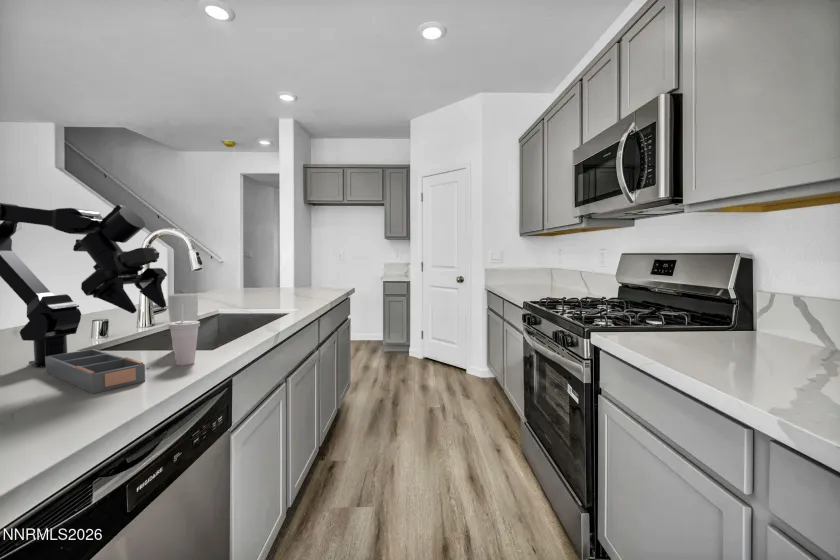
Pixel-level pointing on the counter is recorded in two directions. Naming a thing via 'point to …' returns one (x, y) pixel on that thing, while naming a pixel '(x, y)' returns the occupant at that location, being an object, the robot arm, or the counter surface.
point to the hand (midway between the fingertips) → (150, 309)
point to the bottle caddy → (95, 370)
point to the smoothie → (184, 339)
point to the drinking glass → (188, 307)
